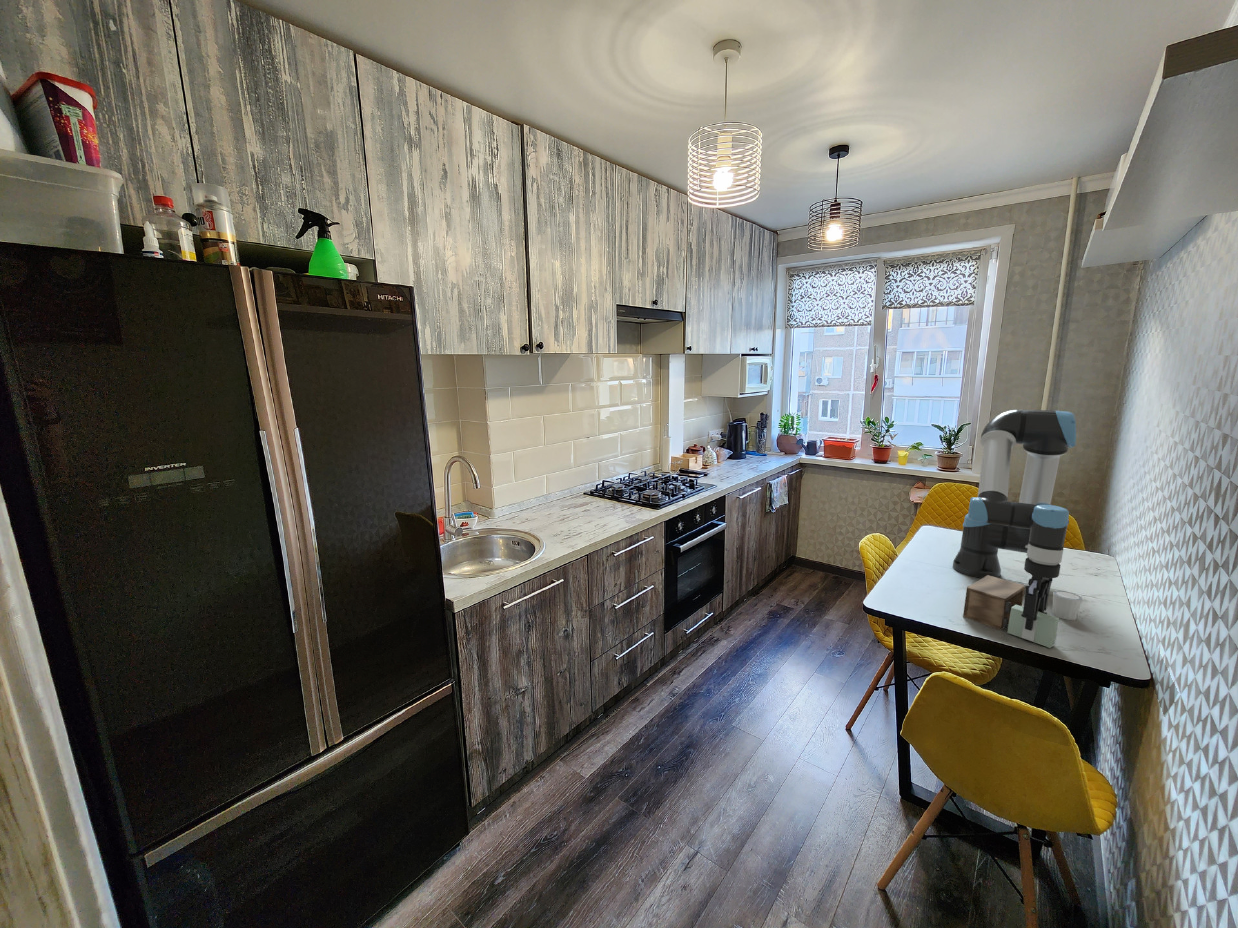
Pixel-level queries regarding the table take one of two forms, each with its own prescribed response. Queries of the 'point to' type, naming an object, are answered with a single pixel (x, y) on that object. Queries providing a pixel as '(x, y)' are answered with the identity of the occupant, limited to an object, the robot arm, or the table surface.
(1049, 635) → the pale green rectangular block
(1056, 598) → the shot glass
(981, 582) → the cabinet
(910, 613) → the table surface
